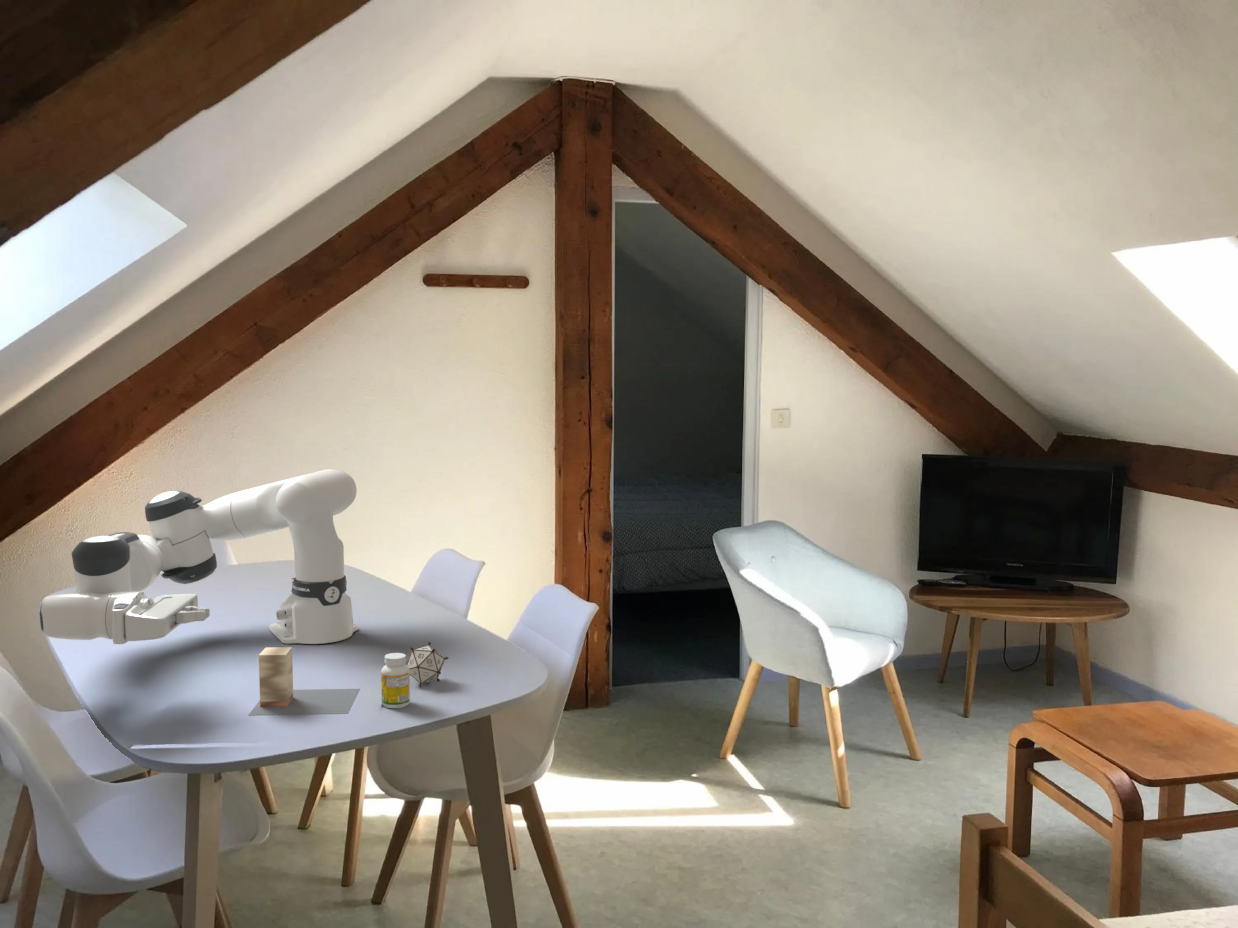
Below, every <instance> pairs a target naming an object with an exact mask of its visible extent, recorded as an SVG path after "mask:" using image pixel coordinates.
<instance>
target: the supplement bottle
mask: <svg viewBox="0 0 1238 928" xmlns="http://www.w3.org/2000/svg"><path fill="white" fill-rule="evenodd" d="M406 662H407V655H406V654H405V653H402V652H391V653H386V654H385V655H384V664H385V665H384V666H383V667H382V668H381V672H380V673H381V674H380V675H381V676H380V679H381V683H380V684H381V685H380V687H381V704H382V706H383V707H385V708H387V709H402V708H405V707H407V706H409V705H410V703H411V683H410V681H411V680H410V679H411V678H410V677H411V675H410V669H409V667H408V666H407V663H406Z"/></svg>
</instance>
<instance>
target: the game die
mask: <svg viewBox="0 0 1238 928" xmlns="http://www.w3.org/2000/svg"><path fill="white" fill-rule="evenodd" d="M409 650H410V651H411V652H410V654H409V657H408V660H407V661H406V662H407V663H406V665H407V666H408V667H409V669H410V677H412V678H413V679H414V680H415V681H416V682H418V684H419V688H420V689H421V688H422V687H423V684H425V683H428V682H432V681H435V680H436V681H437V682H441V679H440V678H439V676H440V675H441V674H442V673H441V671H442V668H443V665H444V662H445V660H448V659H449V657H448V656H445V657H444V656H443V655H441V654H440V653H439V652H438V650H436V648H434V647H432V646H431V641H429V642H428V643H427V645H423V646H422V647H417V648H413V647H412V646H409Z"/></svg>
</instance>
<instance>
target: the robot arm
mask: <svg viewBox="0 0 1238 928" xmlns="http://www.w3.org/2000/svg"><path fill="white" fill-rule="evenodd" d="M356 497H357V484H356V482H355V479H354V478H353V477H352V476H351V475H350V474H349V473H347V472H346V471H344V470H337V469H329V468H327V469H322V470H318V471H314V472H311V473H306V474H301V475H299V476H294V477H290V478H287V479H283V480H277V481H275V482H271V483H266V484H262V485H259V486H254V487H250V488H247V489H242V490H239V491H236V492H233V493H232V492H231V493H229V494H226V495H223V496H221V497H218V498H216V499H214V500H212V501H210V502H208V503H206V504H204V505H200V503H201V502H203V500H202V498H201V497H195V496H193V495H192V494H191V493H189V492H185V491H183V490H182V491H181V490H177V491H176V490H175V491H172V490H171V491H165V492H162V493H159V494H157V495H155V496H154V497H153V498H152V499H151V500H150V501H148V502H147V503H146V505H145V506H144V513H145V514H144V515H145V519H146V521H147V522H148V524H149V529H150V532H151V535H148V534H137V533H134V532H131V531H129V532H128V531H127V532H125V531H124V532H114V533H112V532H111V533H107V534H106V535H105V534H104V535H96V536H91V537H89V538H86V539H83V540H81V541H80V542H79V543H78V544H77V545H75V547H74V548H73V550H72V551H71V558H72V565H73V569H74V577H75V588H76V589H75V590H76V592H70V593H69V592H68V593H60V594H51V595H48V596H47V595H46V596H45V597H44V598H43V599H42V601H41V603H40V607H39V623H40V630H41V632H42V633H43V635H44V636H45V637H49V638H53V639H59V640H71V641H72V640H73V641H82V640H83V641H90V640H94V639H99V638H104V639H107V640H112V643H113V644H114V645H123V644H127V643H129V642H137V641H138V642H139V641H151V640H158V639H162V638H165V637H166V636H167V635H168V634H170V633H171V632H173V631H174V630H175V629H177V627H179V626H180V625H182V624H188V623H189V624H190V623H194V622H204V621H205V620H206V619H208V618H209V617H210V616H211V615H210V613H211V612H210V608H209V607H198V606H199V602H198V601H199V600H198V599H199V598H198V595H197V594H195V593H172V594H169V593H168V594H161V595H157V596H155V597H154V598H153V599H152V598H151V597H149V598H148V596H147V595H146V594H145V593H144V592H143V591H145V590H146V589H148V588H149V587H151V586H152V585H153V584H154V583H155V581H156V580H157V578H158V577H159V575H160V576H161V577H162V578H163V579H166V580H167V579H169V580H171V582H174V583H178V584H181V585H182V584H183V585H189V584H195V583H200V582H202V581H204V580H205V579H207V578H208V577H209V576H211V575H213V573H214V572H215V571H216V569H217V567H218V561H217V556H216V553H215V552H214V550H213V546H212V543H211V540H213V541H233V540H239V539H245V538H250V537H254V536H258V535H263V534H267V533H272V532H274V531H278V530H283V529H285V528H288V529H289V532H290V537H291V538H292V544H293V550H294V551H293V553H294V574H295V575H294V576H295V577H292V578H291V580H293V581H291V591H290V592H291V594H290V595H289V596H288V597H287V598H286V599H285V600H284V601H283V602H282V603H281V604H280V605H279V610H276V612H275V613H276V616H275V617H276V619H277V620H278V621H276V622H273V623H271V624H269V625H268V630H269V631H270V632H271V633H272V634H273V635H274V636H275V637H276V638H277V639H278V640H279V641H280V642H281V643H283V644H305V645H306V644H307V645H318V644H329V643H334V642H335V643H336V642H340V641H343V640H347V639H349V638H350V637H352V636H353V633H354V632H357V631H358V630H359V625H358V624H355V623H354V617H353V616H354V615H353V608H352V607H353V606H352V597H351V596H349V595H348V594H347V593H346V592H347V584H348V582H347V577H346V575H345V558H344V556H345V551H344V550H345V549H344V548H345V547H344V543H343V541H342V539H340V538H339V536H338V534H337V530H336V527H335V522H334V516H336V515H339V514H342V512H345V510H347V509H348V507H350V506H351V505H352V504H353V503H354V501H355V500H356ZM161 572H163V573H162V574H160V573H161Z"/></svg>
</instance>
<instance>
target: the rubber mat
mask: <svg viewBox="0 0 1238 928" xmlns="http://www.w3.org/2000/svg"><path fill="white" fill-rule="evenodd" d="M360 690H361V689H360V688H325V689H324V688H321V689H319V688H318V689H293V699H292V700H291V702H290V703H289V705H288V706H274V707H260V699H259V700H258V702H257V703H256V704H255V705H254V707H253V708H252V710H251V711H250V713H249V714H248V716H250V717H251V716H253V717H254V716H290V715H291V716H295V715H296V716H298V715H300V716H301V715H305V716H306V715H308V716H309V715H344V714H345V715H347V714H349V712H350V710H351V708H352V706H353V704H354V702H355V699H356V698H357V695H358V694H359V692H360Z"/></svg>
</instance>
